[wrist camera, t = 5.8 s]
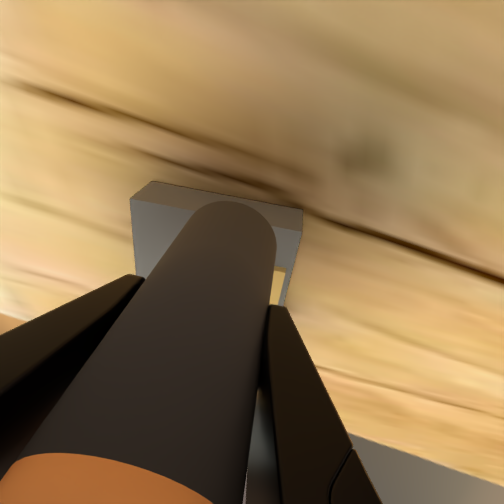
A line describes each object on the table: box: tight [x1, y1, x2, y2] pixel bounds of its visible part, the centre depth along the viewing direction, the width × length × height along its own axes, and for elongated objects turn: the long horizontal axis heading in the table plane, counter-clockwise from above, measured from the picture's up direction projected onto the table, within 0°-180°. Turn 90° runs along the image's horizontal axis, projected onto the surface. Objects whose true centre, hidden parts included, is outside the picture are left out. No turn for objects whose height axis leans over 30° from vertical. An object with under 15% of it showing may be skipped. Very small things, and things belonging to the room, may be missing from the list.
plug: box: [0, 201, 277, 504], centre depth 7 cm, size 3×3×8 cm
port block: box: [130, 181, 303, 306], centre depth 23 cm, size 10×16×4 cm, turn 172°
